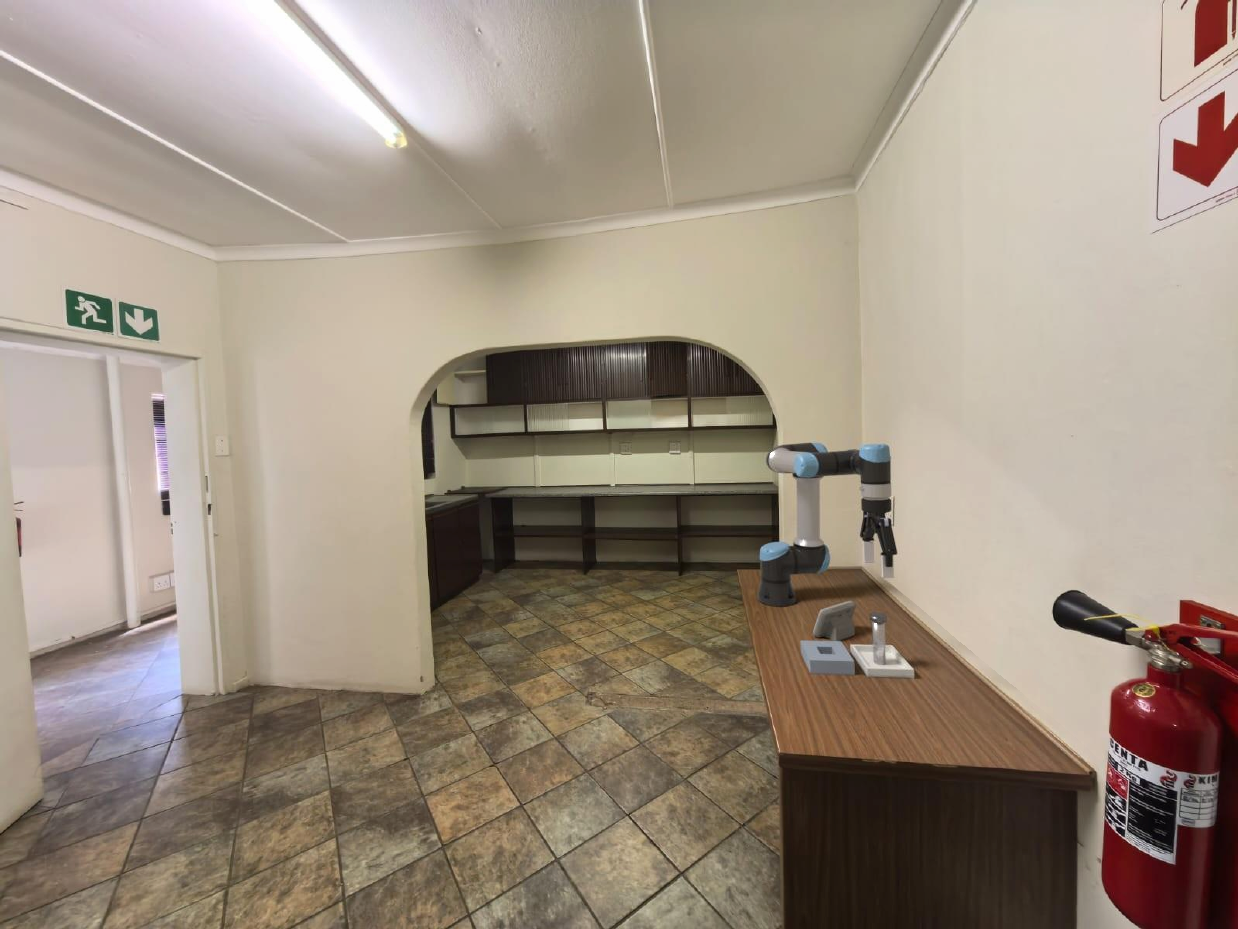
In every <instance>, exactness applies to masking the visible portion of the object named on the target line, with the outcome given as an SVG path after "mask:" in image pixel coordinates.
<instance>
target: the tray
mask: <svg viewBox="0 0 1238 929" xmlns="http://www.w3.org/2000/svg"><path fill="white" fill-rule="evenodd" d="M849 647H850V648H849V649H850V655H851V656H853V659H855V661H856V662H857V664H858V665H859V666H860V668H861V670H862V671H863V672H864V674H865V675H866V677H867V678H883V679H884V678H886V679H887V678H889V679H890V678H892V679H915V669H914V667H912V666H911V665H910V664H909V663H908V661H907V660H906V659H905V658H904V656H903V655H901V653H900V652H899V651H898V650H897V649H896V648H895V647H894V645H891V644H888V645H887V644H885V651H886V664H885V665H878V664H875V663H874V662H873V644H850V646H849Z"/></svg>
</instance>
